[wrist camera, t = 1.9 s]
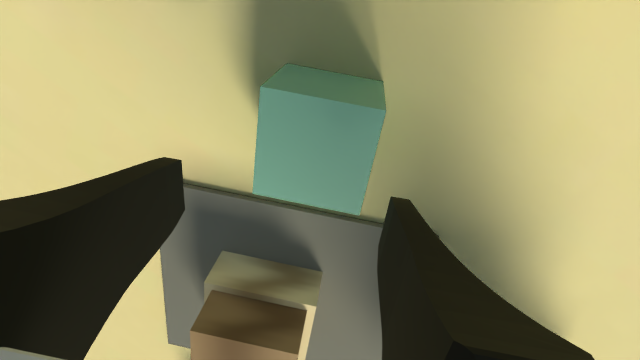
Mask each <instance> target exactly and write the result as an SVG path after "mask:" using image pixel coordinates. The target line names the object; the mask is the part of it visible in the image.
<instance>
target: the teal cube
mask: <svg viewBox="0 0 640 360" xmlns="http://www.w3.org/2000/svg"><path fill="white" fill-rule="evenodd" d="M385 113H386V104H385V94H384V85H383V81H378V80H373V79H367V78H362V77H357V76H352V75H346V74H341V73H336V72H330V71H325V70H320V69H315V68H309V67H304V66H299V65H293V64H288V63H287V64H286V65H284V66H283V67H282V68H281V69H280V70H279V71H277V72H276V73H275V74H274V75H273V76H272V77H271V78H269V79H268V80H267V81H266V82H265V83H264V84H263V85H261V86H260V98H259V111H258V125H257V139H256V152H255V166H254V180H253V193H252V194H256V195H261V196H266V197H271V198H276V199H281V200H285V201H290V202H295V203H300V204H305V205H310V206H315V207H320V208H324V209H329V210H334V211H339V212H344V213H349V214H354V215H360V211H361V207H362V203H363V200H364V196H365V192H366V188H367V184H368V180H369V176H370V172H371V168H372V164H373V160H374V156H375V153H376V149H377V145H378V141H379V137H380V133H381V129H382V125H383V121H384V117H385Z"/></svg>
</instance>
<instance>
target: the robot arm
mask: <svg viewBox="0 0 640 360" xmlns="http://www.w3.org/2000/svg"><path fill="white" fill-rule="evenodd" d="M184 211H185V201H184V188H183V175H182V162H181V160H177V159H172V158H166V157H163V158H158V159H154V160H151V161H148V162H144V163H141V164H138V165H135V166H132V167H129V168H126V169H123V170H120V171H117V172H114V173H111V174H109V175H105V176H102V177H99V178H96V179H92V180H89V181H86V182H82V183H79V184H76V185H72V186H69V187H65V188H61V189H57V190H53V191H48V192H44V193H39V194H35V195H30V196H25V197H19V198H13V199H7V200H1V201H0V360H84V358H85V356H86V354H87V352H88V351H89V349H90V347H91V345H92V344H93V342H94V340H95V339H96V337H97V335H98V334H99V332H100V330H101V329H102V327H103V325H104V324H105V322H106V320H107V319H108V317H109V316H110V314H111V313H112V311H113V309H114V308H115V306H116V305H117V303H118V302H119V300H120V299H121V297H122V296H123V294H124V293H125V291H126V290H127V288H128V287H129V286H130V284H131V283H132V282H133V280H134V279H135V278H136V277H137V276H138V274H139V273H140V272H141V271H142V269H143V268H144V267H145V266H146V264H147V263H148V262H149V261H150V260H151V258H152V257H153V256H154V255H155V253H156V252H157V251H158V250H159V248H160V247H161V246H162V245H163V243H164V242H165V241H166V240H167V238H168V237H169V236H170V234H171V233H172V232H173V230H174V228H175V227H176V225H177V223H178V222H179V220H180V218H181V216H182V215H183V213H184ZM377 277H378V291H379V303H380V315H381V327H382V360H594V358H593V357H592V355H591V354H589V353H588V352H586V351H584V350H582V349H581V348H579V347H577V346H575V345H574V344H572V343H570V342H569V341H567V340H565V339H563V338H562V337H560V336H558V335H556V334H555V333H553V332H551V331H550V330H548V329H546V328H545V327H543V326H542V325H540V324H539V323H537V322H536V321H534V320H533V319H531V318H530V317H528V316H527V315H525V314H524V313H522V312H521V311H519V310H518V309H516V308H515V307H514V306H512V305H511V304H509V303H508V302H507V301H505V300H504V299H503V298H501V297H500V296H499V295H498V294H496V293H495V292H494V291H493V290H491V289H490V288H489V287H487V286H486V285H485V284H484V283H483V282H482V281H480V280H479V279H478V278H477V277H476V276H475V275H474V274H473V273H471V272H470V271H469V270H468V269H467V268H466V267H465V266H464V265H463V264H462V263H461V262H460V261H459V260H458V259H457V258H456V257H455V256H454V255H453V254H452V253H451V252H450V251H449V249H448V248H447V247H446V246H445V245H444V244H443V243H442V242H441V240H440V239H439V238H438V237H437V236H436V234H435V233H434V232H433V231H432V229H431V228H430V227H429V226H428V224H427V223H426V222H425V220H424V219H423V218H422V216H421V215H420V214H419V212H418V211H417V209H416V208H415V207H414V205H413V204H412V203H411V201H410V200H408V199H402V198H396V197H391V198H390V202H389V206H388V210H387V214H386V217H385V221H384V225H383V229H382V233H381V237H380V241H379V244H378V260H377Z"/></svg>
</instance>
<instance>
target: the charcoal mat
mask: <svg viewBox="0 0 640 360" xmlns="http://www.w3.org/2000/svg"><path fill="white" fill-rule="evenodd" d="M183 188H184V201H185V211H184V213H183V215H182V216H181V218H180V220H179V222H178V223H177V225H176V227H175V228H174V230H173V232H172V233H171V234H170V236H169V237H168V238H167V240H166V241H165V242H164V243H163V245H162V246H161V247H160V254H161V265H162V277H163V288H164V300H165V311H166V322H167V334H168V344H173V345H177V346H182V347H186V348H191V345H190V330H191V328H192V326H193V324H194V322H195V320H196V318H197V317H198V315H199V313H200V311H201V309H202V307H203V305H204V281H205V280H206V278H207V276H208V274H209V273H210V271H211V269H212V268H213V266H214V264H215V262H216V261H217V259H218V257H219V255H220V254H221V252H222V251H227V252H231V253H236V254H241V255H245V256H250V257H255V258H260V259H264V260H269V261H274V262H278V263H283V264H288V265H293V266H297V267H302V268H307V269H311V270H316V271H321V272H323V273H322V279H321V284H320V290H319V295H318V301H317V306H316V311H315V316H314V320H313V325H312V330H311V334H310V339H309V344H308V348H307V353H306V358H305V360H382V327H381V315H380V303H379V291H378V277H377V260H378V244H379V241H380V237H381V233H382V229H383V225H384V224H379V223H374V222H369V221H365V220H360V219H355V218H350V217H345V216H340V215H335V214H330V213H326V212H321V211H316V210H311V209H306V208H301V207H296V206H291V205H287V204H282V203H277V202H272V201H267V200H262V199H257V198H252V197H248V196H243V195H238V194H233V193H228V192H223V191H218V190H213V189H209V188H204V187H199V186H194V185H189V184H184V183H183ZM436 236H437V237H438V238H439V236H438V235H436Z"/></svg>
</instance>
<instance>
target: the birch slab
mask: <svg viewBox="0 0 640 360" xmlns="http://www.w3.org/2000/svg"><path fill="white" fill-rule="evenodd" d="M322 273H323V272H321V271H316V270H311V269H307V268H302V267H297V266H293V265H288V264H283V263H278V262H274V261H269V260H264V259H260V258H255V257H250V256H245V255H241V254H236V253H231V252H227V251H222V252H221V254H220V255H219V257H218V259H217V261H216V262H215V264H214V266H213V268H212V269H211V271H210V273H209V274H208V276H207V278H206V280H205V281H204V304H205V302H206V300H207V298H208V296H209V294H210V292H211V291H212V290H215V291H220V292H224V293H229V294H234V295H238V296H243V297H247V298H252V299H257V300H261V301H266V302H270V303H275V304H279V305H284V306H289V307H293V308H298V309H302V310H307V314H306V319H305V324H304V329H303V334H302V339H301V345H300V350H299V355H298V360H305V358H306V353H307V348H308V344H309V339H310V334H311V330H312V325H313V320H314V316H315V311H316V306H317V301H318V295H319V290H320V284H321V279H322Z"/></svg>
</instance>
